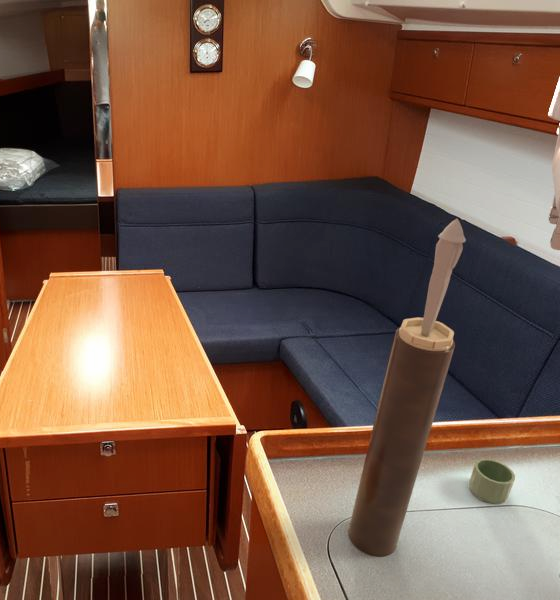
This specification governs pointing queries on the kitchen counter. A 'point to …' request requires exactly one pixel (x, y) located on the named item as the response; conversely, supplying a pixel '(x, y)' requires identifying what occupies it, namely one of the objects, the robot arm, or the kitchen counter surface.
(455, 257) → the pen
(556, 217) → the robot arm
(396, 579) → the kitchen counter surface
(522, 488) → the kitchen counter surface
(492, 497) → the olive short hollow cylinder
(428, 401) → the pedestal
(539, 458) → the kitchen counter surface
